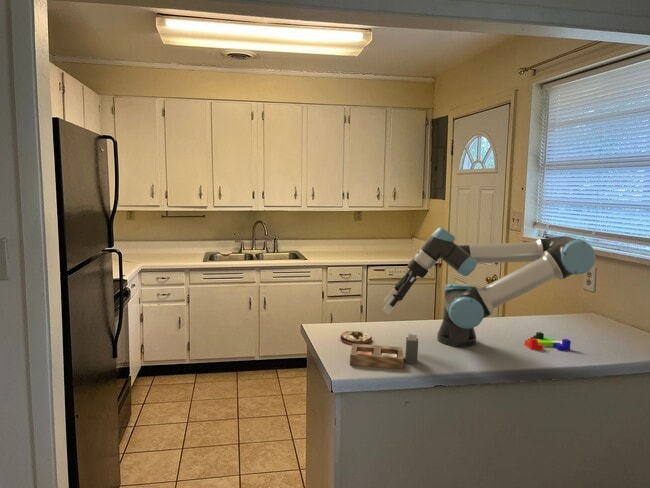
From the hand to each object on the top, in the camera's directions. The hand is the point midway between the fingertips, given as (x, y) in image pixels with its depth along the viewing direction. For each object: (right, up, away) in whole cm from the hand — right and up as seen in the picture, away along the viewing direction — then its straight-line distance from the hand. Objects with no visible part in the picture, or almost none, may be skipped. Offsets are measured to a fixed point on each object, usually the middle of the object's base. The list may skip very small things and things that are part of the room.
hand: (385, 307), depth 184 cm
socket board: (-5, -17, -13) cm, 22 cm away
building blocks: (+64, -17, +10) cm, 67 cm away
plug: (+7, -17, -13) cm, 23 cm away
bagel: (-11, -15, +9) cm, 20 cm away
